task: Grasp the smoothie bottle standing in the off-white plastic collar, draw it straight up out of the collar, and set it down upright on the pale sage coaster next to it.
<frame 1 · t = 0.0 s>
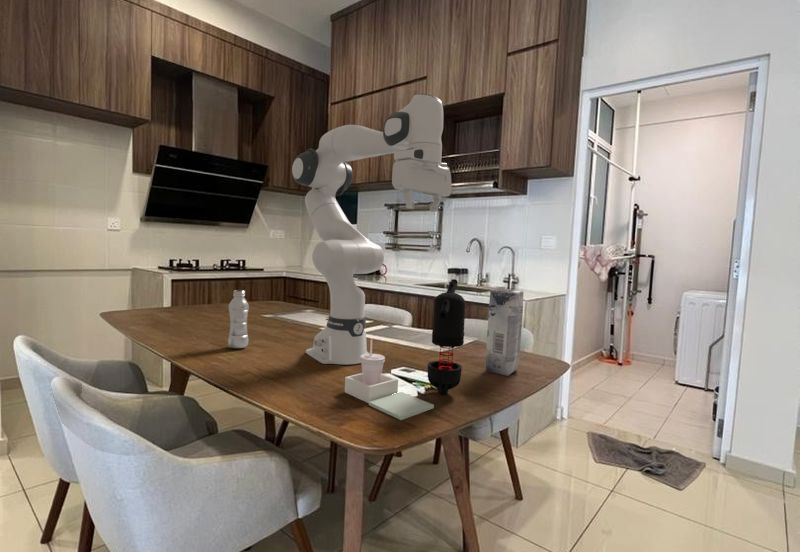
hand: (422, 210, 113), 48 cm above the table, fingers open, 8 cm apart
plastic bottle: (238, 348, 146), on the table
collar: (371, 393, 109), on the table
coaster: (401, 406, 101), on the table
juice carton: (501, 371, 134), on the table
smoothie: (371, 394, 109), resting in collar
filter: (442, 395, 110), on the table
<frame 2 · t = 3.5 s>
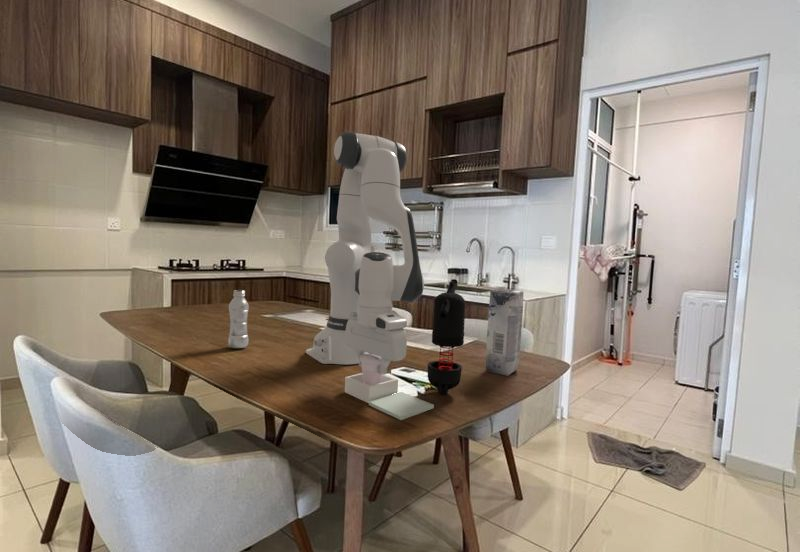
hand: (372, 370, 108), 6 cm above the table, fingers closed on smoothie, 6 cm apart
smoothie: (371, 394, 109), resting in collar, touching gripper
everything else where it was.
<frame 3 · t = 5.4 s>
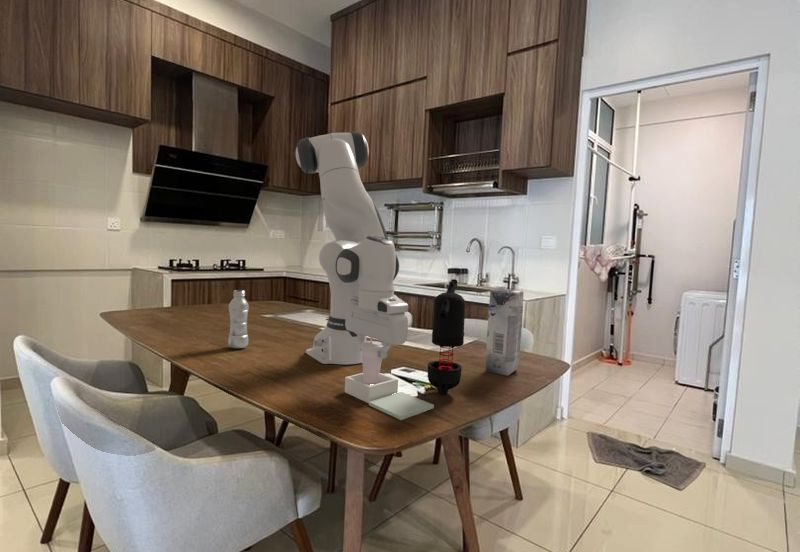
hand: (372, 354, 108), 10 cm above the table, fingers closed on smoothie, 6 cm apart
smoothie: (370, 381, 109), point 3 cm above the table, touching gripper
everything else where it was.
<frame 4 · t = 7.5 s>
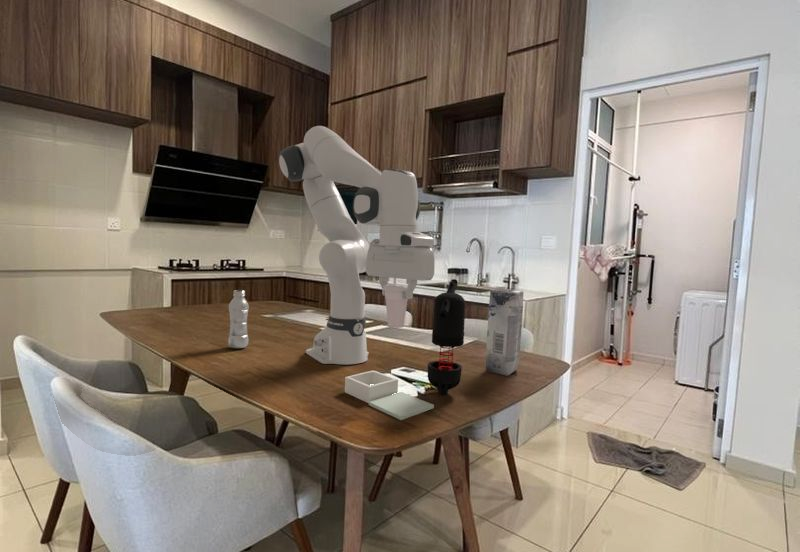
hand: (397, 297, 100), 26 cm above the table, fingers closed on smoothie, 6 cm apart
smoothie: (395, 327, 100), point 19 cm above the table, touching gripper
everything else where it was.
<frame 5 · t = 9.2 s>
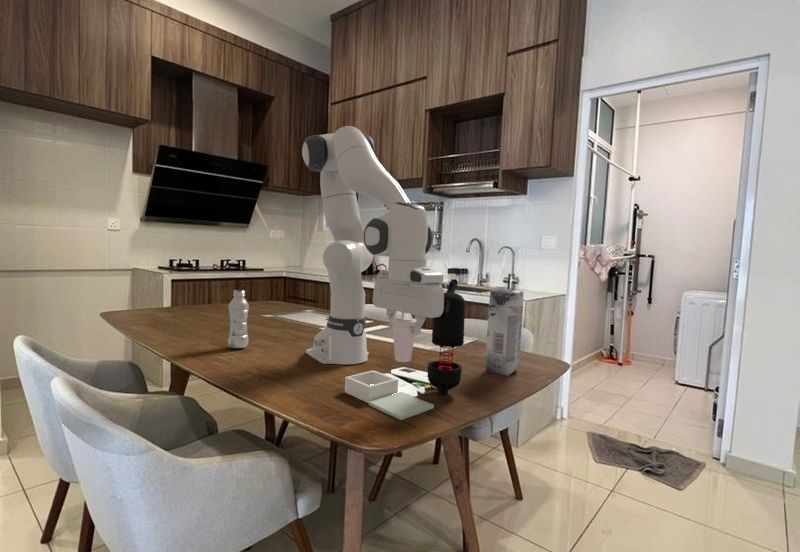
hand: (404, 331, 99), 18 cm above the table, fingers closed on smoothie, 6 cm apart
smoothie: (402, 360, 100), point 11 cm above the table, touching gripper
everything else where it was.
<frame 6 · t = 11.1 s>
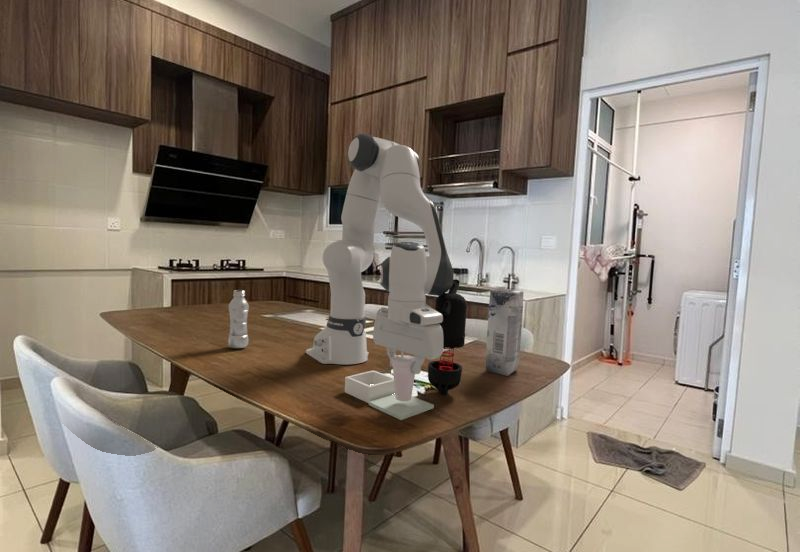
hand: (404, 369, 100), 9 cm above the table, fingers closed on smoothie, 6 cm apart
smoothie: (403, 399, 100), point 2 cm above the table, touching gripper
filter: (442, 395, 110), on the table, touching arm
everything else where it was.
when the fingers open (9 cm above the table, at t = 11.5 s): smoothie drops 1 cm, resting on coaster.
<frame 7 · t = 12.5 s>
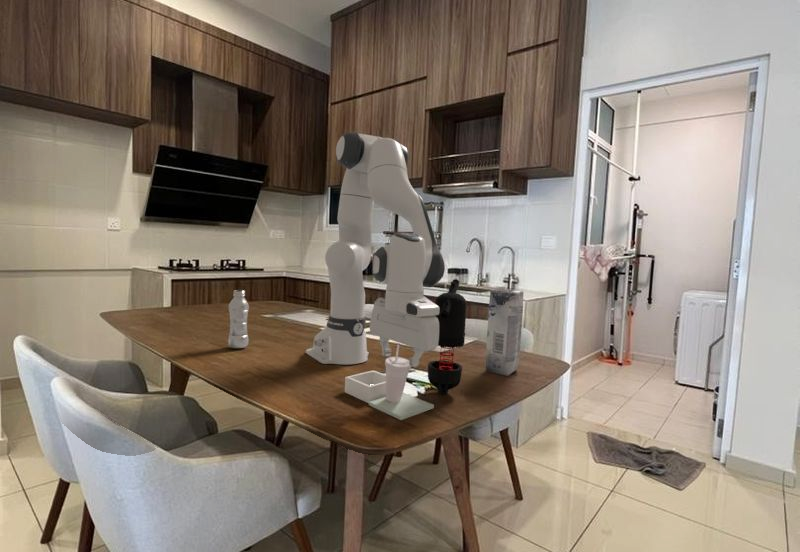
hand: (399, 360, 100), 11 cm above the table, fingers open, 8 cm apart
smoothie: (393, 399, 103), point 1 cm above the table, touching coaster
filter: (442, 395, 110), on the table
everything else where it was.
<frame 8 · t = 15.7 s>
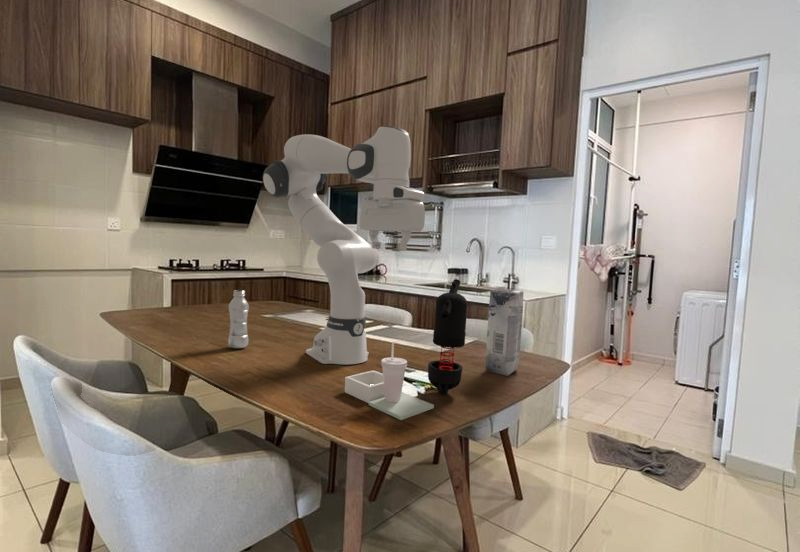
hand: (388, 249, 106), 37 cm above the table, fingers open, 8 cm apart
at the end: smoothie 3.0 cm from the coaster (horizontally); smoothie tilted 0°; smoothie touching coaster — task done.
